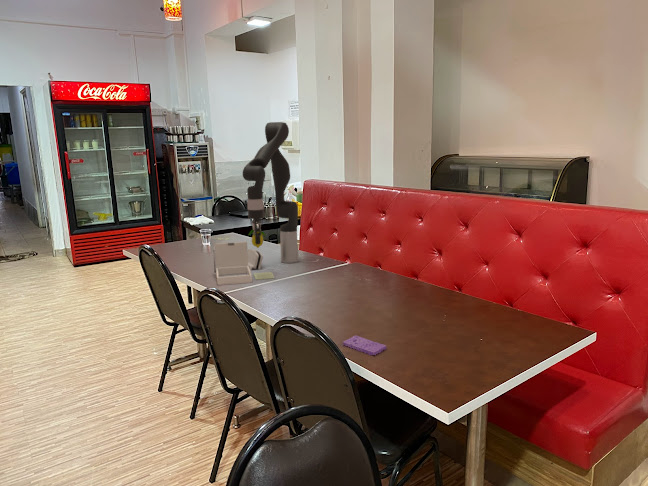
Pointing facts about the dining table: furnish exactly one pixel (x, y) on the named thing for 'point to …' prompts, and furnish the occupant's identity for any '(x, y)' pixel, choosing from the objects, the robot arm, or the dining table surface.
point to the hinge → (254, 259)
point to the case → (231, 263)
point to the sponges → (364, 345)
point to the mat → (263, 275)
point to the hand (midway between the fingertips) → (257, 242)
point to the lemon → (254, 238)
